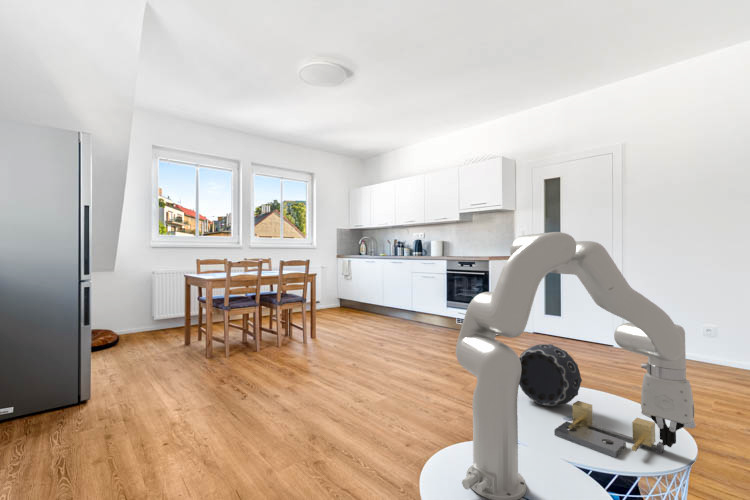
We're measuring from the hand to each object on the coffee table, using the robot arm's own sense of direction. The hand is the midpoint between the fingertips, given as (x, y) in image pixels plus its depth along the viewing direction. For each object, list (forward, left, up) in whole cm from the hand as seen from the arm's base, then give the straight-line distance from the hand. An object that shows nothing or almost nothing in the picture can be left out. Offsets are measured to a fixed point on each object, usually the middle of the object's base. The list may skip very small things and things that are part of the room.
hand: (667, 444), depth 91 cm
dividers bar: (-4, +11, -2) cm, 12 cm away
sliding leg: (-3, +5, -1) cm, 6 cm away
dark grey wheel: (+8, +34, -3) cm, 35 cm away
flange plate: (-8, +15, -3) cm, 18 cm away
